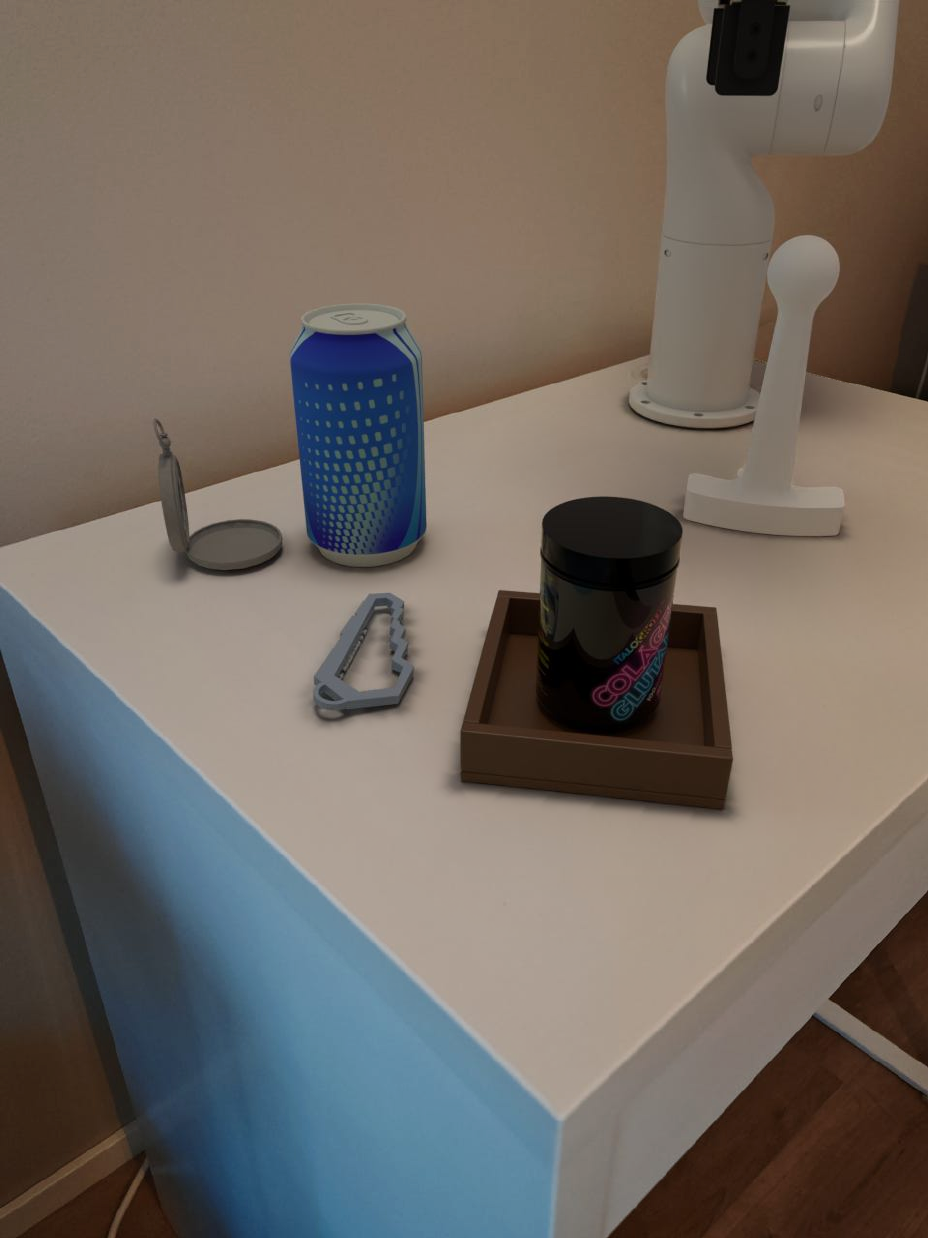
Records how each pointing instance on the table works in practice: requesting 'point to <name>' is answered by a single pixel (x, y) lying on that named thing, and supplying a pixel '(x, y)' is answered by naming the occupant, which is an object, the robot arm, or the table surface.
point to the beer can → (360, 432)
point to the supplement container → (605, 611)
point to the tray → (594, 762)
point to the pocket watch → (215, 542)
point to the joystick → (778, 415)
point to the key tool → (344, 654)
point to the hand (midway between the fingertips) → (738, 89)
